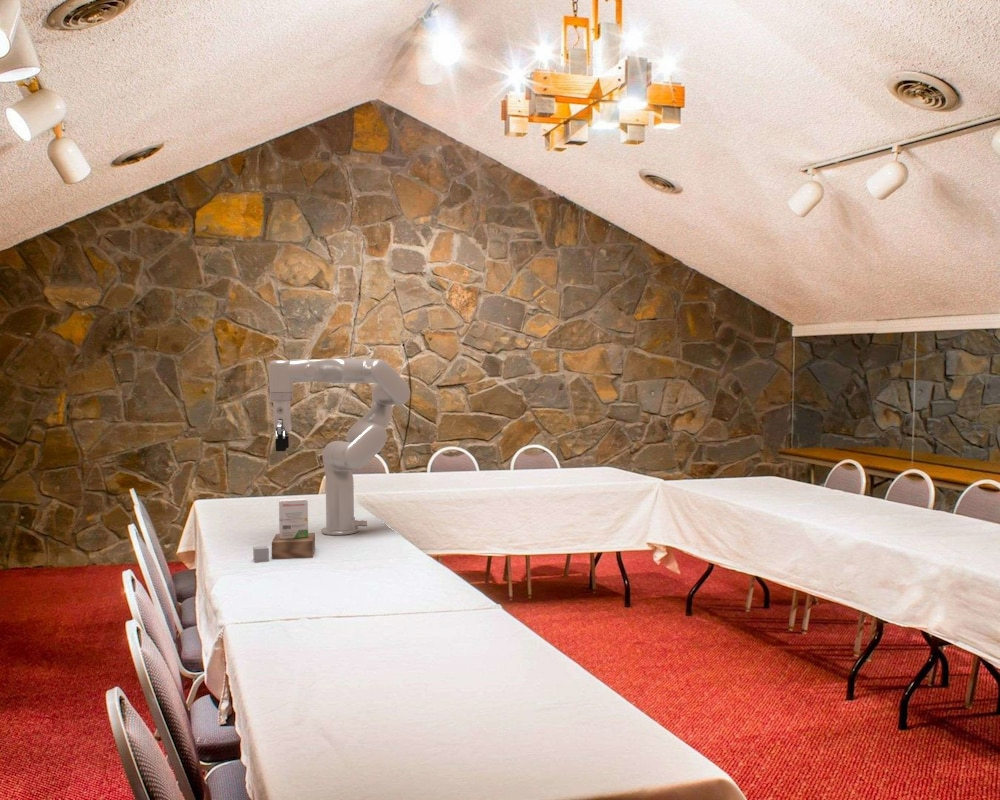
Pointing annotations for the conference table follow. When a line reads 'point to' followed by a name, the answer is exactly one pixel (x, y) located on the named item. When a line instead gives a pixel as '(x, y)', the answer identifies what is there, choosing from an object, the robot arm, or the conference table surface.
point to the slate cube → (261, 554)
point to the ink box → (293, 518)
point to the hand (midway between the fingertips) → (282, 449)
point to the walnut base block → (293, 547)
